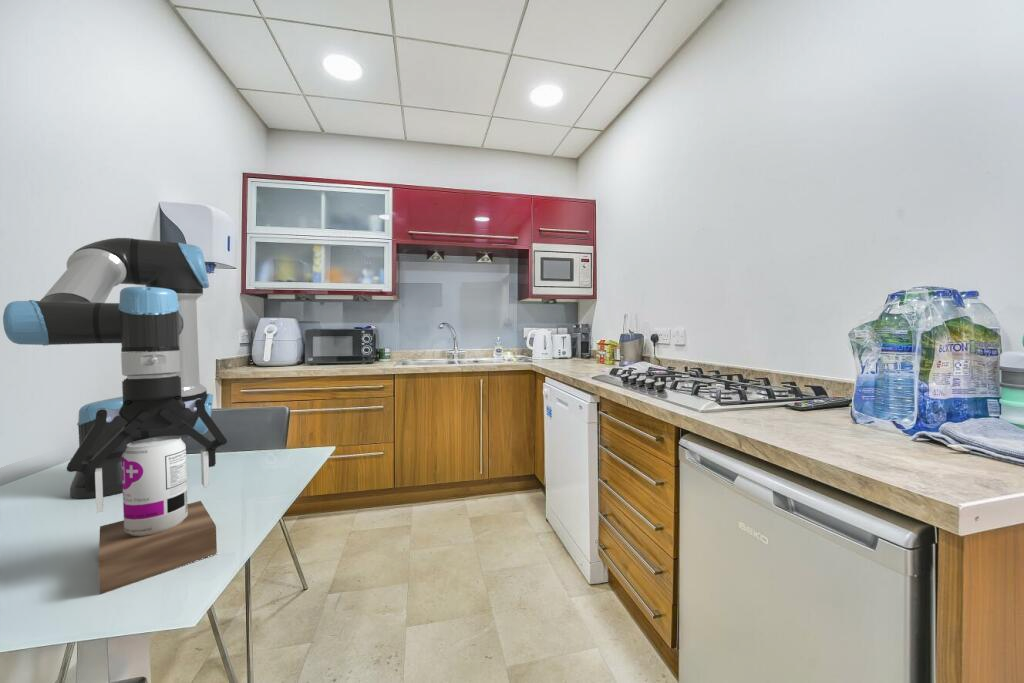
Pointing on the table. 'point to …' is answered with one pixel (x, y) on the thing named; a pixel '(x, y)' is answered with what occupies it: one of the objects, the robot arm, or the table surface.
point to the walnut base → (153, 549)
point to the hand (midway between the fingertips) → (156, 496)
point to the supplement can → (154, 485)
